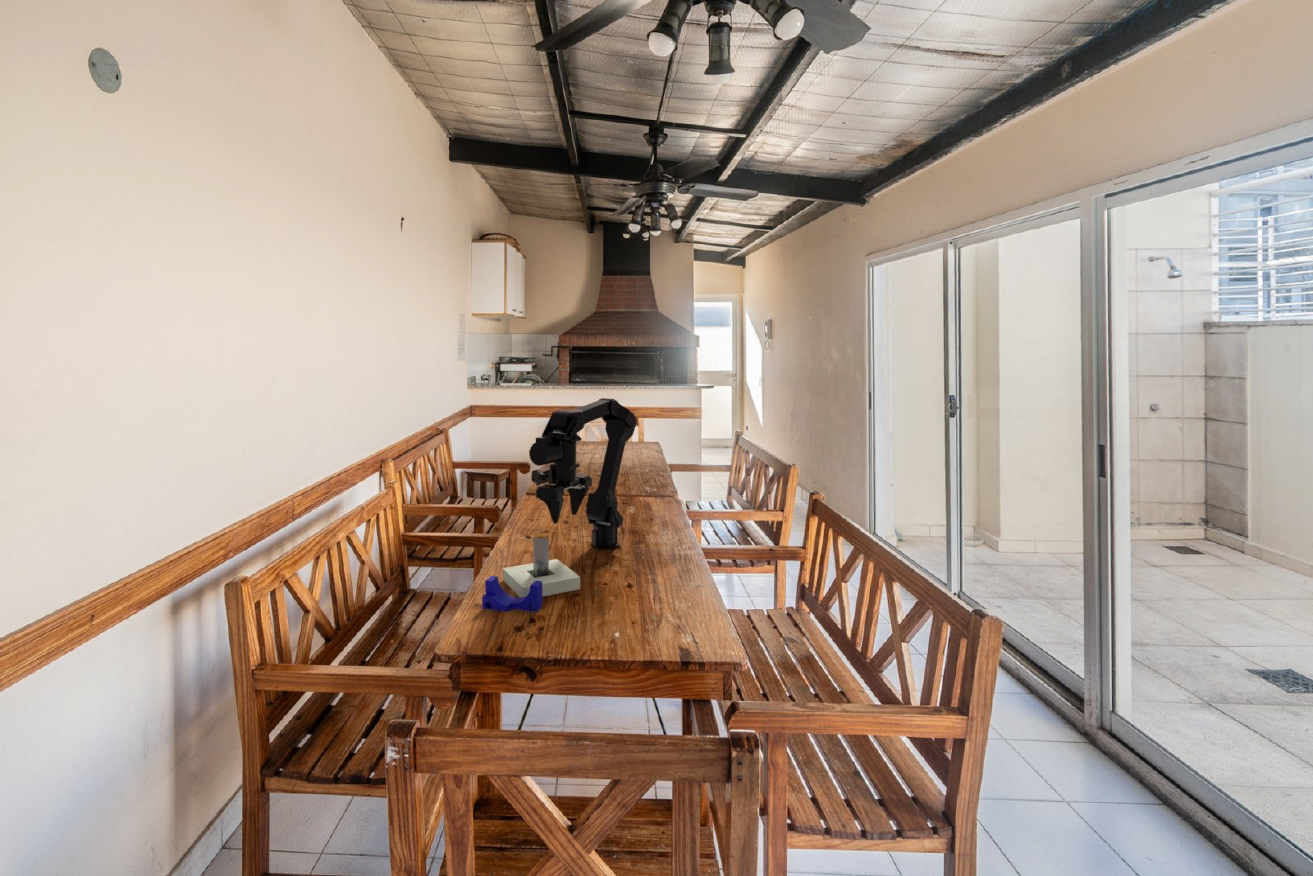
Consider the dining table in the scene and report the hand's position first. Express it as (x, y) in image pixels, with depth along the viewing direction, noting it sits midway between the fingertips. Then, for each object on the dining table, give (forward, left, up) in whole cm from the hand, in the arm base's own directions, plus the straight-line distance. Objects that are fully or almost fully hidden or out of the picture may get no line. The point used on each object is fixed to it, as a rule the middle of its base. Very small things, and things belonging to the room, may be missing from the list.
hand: (564, 518), depth 165 cm
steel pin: (+11, +11, -12) cm, 20 cm away
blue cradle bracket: (+21, +20, -12) cm, 32 cm away
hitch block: (+11, +11, -12) cm, 20 cm away
